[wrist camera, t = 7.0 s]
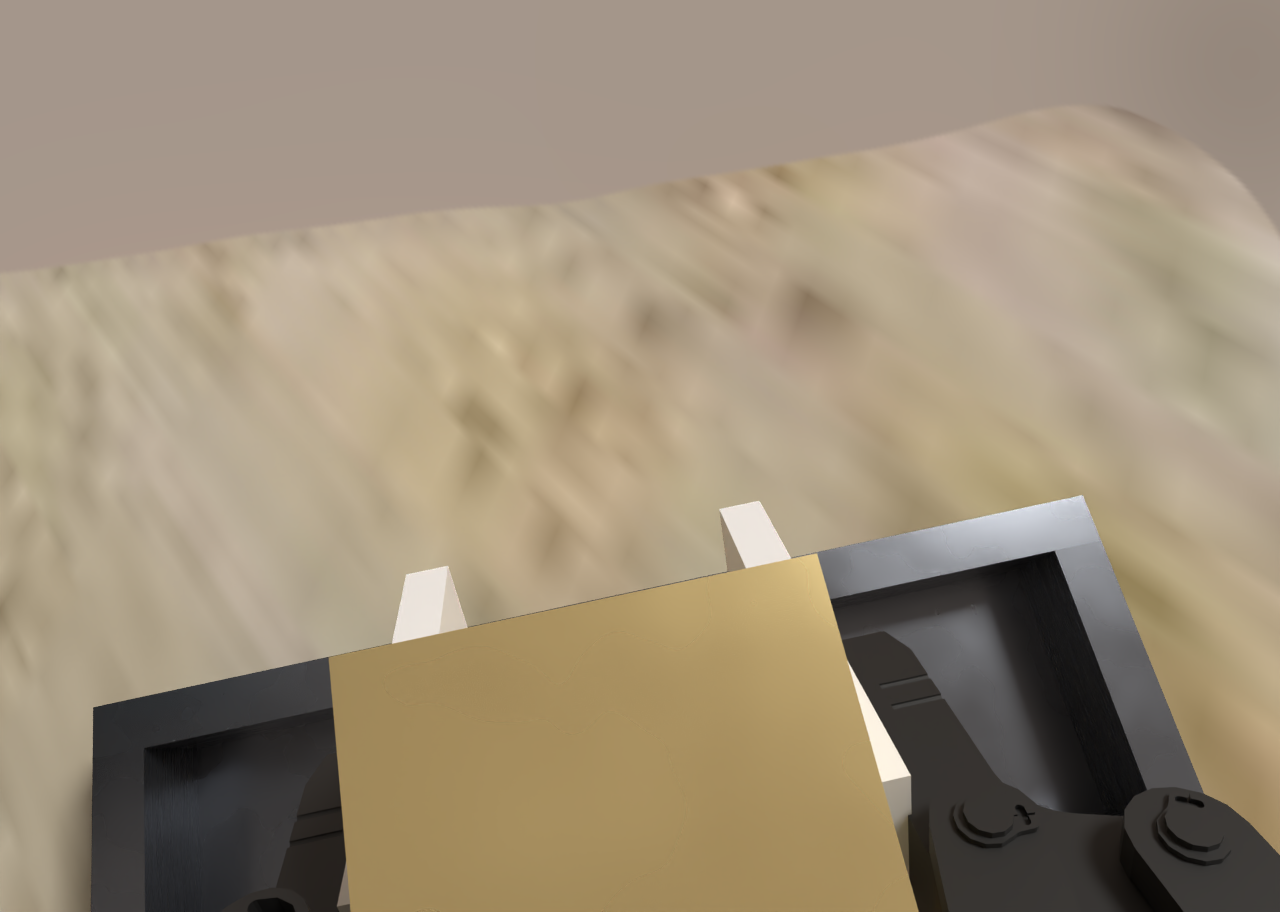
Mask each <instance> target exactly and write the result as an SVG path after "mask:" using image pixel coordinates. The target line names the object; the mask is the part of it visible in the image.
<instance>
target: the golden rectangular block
mask: <svg viewBox="0 0 1280 912" xmlns="http://www.w3.org/2000/svg"><path fill="white" fill-rule="evenodd" d="M329 668H330V679H331V691H332V702H333V714H334V725H335V737H336V748H337V760H338V771H339V783H340V794H341V806H342V817H343V829H344V840H345V852H346V863H347V875H348V886H349V898H350V909H351V912H919V911H918V907H917V904H916V900H915V897H914V893H913V890H912V886H911V883H910V879H909V876H908V872H907V869H906V865H905V862H904V858H903V855H902V851H901V847H900V844H899V840H898V837H897V833H896V830H895V826H894V823H893V819H892V816H891V812H890V809H889V805H888V802H887V798H886V795H885V791H884V788H883V784H882V781H881V777H880V774H879V770H878V766H877V763H876V759H875V756H874V752H873V749H872V745H871V742H870V738H869V735H868V731H867V728H866V724H865V721H864V717H863V714H862V710H861V707H860V703H859V700H858V696H857V693H856V689H855V686H854V682H853V678H852V675H851V671H850V668H849V664H848V661H847V657H846V654H845V650H844V647H843V643H842V640H841V636H840V633H839V629H838V626H837V622H836V619H835V615H834V612H833V608H832V605H831V601H830V597H829V594H828V590H827V587H826V583H825V580H824V576H823V573H822V569H821V566H820V562H819V559H818V555H817V553H816V554H811V555H806V556H802V557H797V558H792V559H788V560H783V561H778V562H774V563H769V564H764V565H760V566H755V567H750V568H745V569H741V570H736V571H731V572H727V573H722V574H717V575H713V576H708V577H703V578H698V579H694V580H689V581H684V582H680V583H675V584H670V585H666V586H661V587H656V588H651V589H647V590H642V591H637V592H633V593H628V594H623V595H619V596H614V597H609V598H605V599H600V600H595V601H590V602H586V603H581V604H576V605H572V606H567V607H562V608H558V609H553V610H548V611H543V612H539V613H534V614H529V615H525V616H520V617H515V618H511V619H506V620H501V621H496V622H492V623H487V624H482V625H478V626H473V627H468V628H464V629H459V630H454V631H449V632H445V633H440V634H435V635H431V636H426V637H421V638H417V639H412V640H407V641H403V642H398V643H393V644H388V645H384V646H379V647H374V648H370V649H365V650H360V651H356V652H351V653H346V654H341V655H337V656H332V657H329Z"/></svg>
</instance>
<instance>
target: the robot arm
mask: <svg viewBox="0 0 1280 912" xmlns="http://www.w3.org/2000/svg"><path fill="white" fill-rule="evenodd" d="M719 510H720V518H721V525H722V533H723V540H724V548H725V555H726V563H727V570H728V572H731V571H736V570H741V569H745V568H750V567H755V566H760V565H764V564H769V563H774V562H778V561H783V560H788V559H791V557H790V555H789V554H788V552H787V550H786V548H785V546H784V545H783V543H782V541H781V539H780V537H779V535H778V534H777V532H776V530H775V528H774V526H773V525H772V523H771V521H770V519H769V517H768V516H767V514H766V512H765V510H764V508H763V506H762V505H761V503H760V501H756V502H751V503H746V504H742V505H737V506H732V507H727V508H722V509H719ZM464 628H468V627H467V624H466V621H465V618H464V615H463V612H462V608H461V605H460V602H459V599H458V596H457V593H456V589H455V586H454V583H453V580H452V577H451V573H450V570H449V567H448V566H444V567H440V568H435V569H430V570H425V571H420V572H416V573H411V574H406V579H405V583H404V588H403V593H402V598H401V603H400V607H399V612H398V617H397V622H396V626H395V631H394V636H393V641H392V644H393V643H398V642H403V641H407V640H412V639H417V638H421V637H426V636H431V635H435V634H440V633H445V632H449V631H454V630H459V629H464ZM842 643H843V647H844V650H845V654H846V657H847V661H848V664H849V668H850V671H851V675H852V678H853V682H854V686H855V689H856V693H857V696H858V700H859V703H860V707H861V710H862V714H863V717H864V721H865V724H866V728H867V731H868V735H869V738H870V742H871V745H872V749H873V752H874V756H875V759H876V763H877V766H878V770H879V774H880V777H881V781H882V784H883V788H884V791H885V795H886V798H887V802H888V805H889V809H890V812H891V816H892V819H893V823H894V826H895V830H896V833H897V837H898V840H899V844H900V847H901V851H902V855H903V858H904V862H905V865H906V869H907V872H908V876H909V879H910V883H911V886H912V890H913V893H914V897H915V900H916V904H917V907H918V911H919V912H1280V855H1279V854H1278V853H1277V852H1276V851H1275V850H1274V849H1273V848H1272V847H1271V846H1270V844H1269V843H1268V842H1267V841H1266V840H1265V839H1264V838H1263V837H1262V836H1261V835H1260V834H1259V833H1258V832H1257V831H1256V830H1255V828H1254V827H1253V826H1252V825H1251V824H1250V823H1249V822H1248V821H1246V820H1245V819H1244V818H1243V817H1241V816H1240V815H1239V814H1238V813H1237V812H1235V811H1234V810H1233V809H1232V808H1230V807H1229V806H1228V805H1226V804H1224V803H1222V802H1220V801H1218V800H1216V799H1214V798H1211V797H1209V796H1207V795H1205V794H1203V793H1200V792H1196V791H1191V790H1187V789H1182V788H1178V787H1165V788H1151V789H1149V790H1147V791H1144V792H1142V793H1140V794H1138V795H1135V796H1134V797H1133V798H1132V800H1131V801H1130V803H1129V804H1128V806H1127V807H1126V808H1125V810H1124V816H1110V815H1094V814H1078V813H1069V812H1062V811H1056V810H1051V809H1048V808H1045V807H1042V806H1039V805H1037V804H1036V803H1035V802H1034V801H1032V800H1031V799H1030V798H1029V797H1028V796H1026V795H1025V794H1024V793H1023V792H1021V791H1020V790H1019V789H1017V788H1014V787H1012V786H1009V785H1007V784H1005V783H1002V781H1001V780H1000V779H999V778H998V777H997V776H996V774H995V773H994V772H993V771H992V769H991V768H990V766H989V765H988V763H987V762H986V760H985V759H984V757H983V756H982V754H981V753H980V751H979V750H978V748H977V747H976V745H975V744H974V742H973V741H972V739H971V738H970V736H969V735H968V733H967V732H966V730H965V729H964V727H963V726H962V724H961V723H960V721H959V720H958V718H957V717H956V715H955V714H954V712H953V711H952V709H951V708H950V706H949V705H948V703H947V702H946V700H945V699H942V697H941V693H940V691H939V690H938V688H937V687H936V685H935V684H934V682H933V681H932V679H931V678H929V677H928V674H927V672H926V671H925V669H924V668H923V666H922V665H921V663H920V662H919V660H918V659H917V657H916V656H915V654H914V653H913V651H912V650H911V649H910V648H909V647H907V646H906V645H904V644H903V643H901V642H900V641H898V640H897V639H896V638H894V637H893V636H891V635H890V634H888V633H887V632H885V631H881V632H876V633H872V634H867V635H863V636H858V637H854V638H849V639H844V640H842ZM289 843H290V847H289V848H287V850H286V854H285V857H284V861H283V864H282V868H281V871H280V875H279V878H278V882H277V885H276V888H268V889H264V890H261V891H257V892H253V893H250V894H248V895H246V896H244V897H242V898H241V899H239V900H237V901H235V902H234V903H232V904H230V905H229V906H227V907H225V908H224V909H223V910H222V911H221V912H351V909H350V898H349V886H348V875H347V863H346V852H345V840H344V829H343V817H342V806H341V794H340V783H339V771H338V760H337V753H333V754H329V755H326V757H325V758H324V760H323V761H322V762H321V764H320V765H319V767H318V768H317V769H316V771H315V772H314V773H313V775H312V776H311V778H310V779H309V780H308V782H307V783H306V785H305V788H304V791H303V795H302V798H301V802H300V805H299V809H298V812H297V822H294V826H293V829H292V833H291V836H290V840H289Z"/></svg>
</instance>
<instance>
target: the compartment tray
mask: <svg viewBox="0 0 1280 912" xmlns="http://www.w3.org/2000/svg"><path fill="white" fill-rule="evenodd" d="M816 553H817V555H818V559H819V562H820V566H821V569H822V573H823V576H824V580H825V583H826V587H827V590H828V594H829V597H830V601H831V605H832V608H833V612H834V615H835V619H836V622H837V626H838V629H839V633H840V636H841V640H844V639H849V638H854V637H858V636H863V635H867V634H872V633H876V632H881V631H885V632H887V633H888V634H890V635H891V636H893V637H894V638H896V639H897V640H898V641H900V642H901V643H903V644H904V645H906V646H907V647H909V648H910V649H911V650H912V651H913V653H914V654H915V656H916V657H917V659H918V660H919V662H920V663H921V665H922V666H923V668H924V669H925V671H926V672H927V674H928V677H929V678H931V679H932V681H933V682H934V684H935V685H936V687H937V688H938V690H939V691H940V693H941V697H942V699H945V700H946V702H947V703H948V705H949V706H950V708H951V709H952V711H953V712H954V714H955V715H956V717H957V718H958V720H959V721H960V723H961V724H962V726H963V727H964V729H965V730H966V732H967V733H968V735H969V736H970V738H971V739H972V741H973V742H974V744H975V745H976V747H977V748H978V750H979V751H980V753H981V754H982V756H983V757H984V759H985V760H986V762H987V763H988V765H989V766H990V768H991V769H992V771H993V772H994V773H995V774H996V776H997V777H998V778H999V779H1000V780H1001V781H1002V783H1005V784H1007V785H1009V786H1012V787H1014V788H1017V789H1019V790H1020V791H1021V792H1023V793H1024V794H1025V795H1026V796H1028V797H1029V798H1030V799H1031V800H1032V801H1034V802H1035V803H1036V804H1037V805H1039V806H1042V807H1045V808H1048V809H1051V810H1056V811H1062V812H1069V813H1078V814H1094V815H1110V816H1124V810H1125V808H1126V807H1127V806H1128V804H1129V803H1130V801H1131V800H1132V798H1133V797H1134V796H1135V795H1138V794H1140V793H1142V792H1144V791H1147V790H1149V789H1151V788H1165V787H1178V788H1182V789H1187V790H1191V791H1196V792H1200V793H1203V790H1202V788H1201V785H1200V783H1199V781H1198V778H1197V776H1196V773H1195V771H1194V768H1193V766H1192V763H1191V761H1190V758H1189V756H1188V753H1187V751H1186V749H1185V746H1184V744H1183V741H1182V739H1181V736H1180V734H1179V731H1178V729H1177V726H1176V724H1175V721H1174V719H1173V717H1172V714H1171V712H1170V709H1169V707H1168V704H1167V702H1166V699H1165V697H1164V694H1163V692H1162V689H1161V687H1160V685H1159V682H1158V680H1157V677H1156V675H1155V672H1154V670H1153V667H1152V665H1151V662H1150V660H1149V657H1148V655H1147V653H1146V650H1145V648H1144V645H1143V643H1142V640H1141V638H1140V635H1139V633H1138V630H1137V628H1136V625H1135V623H1134V621H1133V618H1132V616H1131V613H1130V611H1129V608H1128V606H1127V603H1126V601H1125V598H1124V596H1123V593H1122V591H1121V589H1120V586H1119V584H1118V581H1117V579H1116V576H1115V574H1114V571H1113V569H1112V566H1111V564H1110V561H1109V559H1108V556H1107V554H1106V552H1105V549H1104V547H1103V544H1102V542H1101V539H1100V537H1099V534H1098V532H1097V529H1096V527H1095V524H1094V522H1093V520H1092V517H1091V515H1090V512H1089V510H1088V507H1087V505H1086V502H1085V500H1084V497H1083V495H1082V496H1077V497H1072V498H1068V499H1063V500H1058V501H1054V502H1049V503H1044V504H1040V505H1035V506H1030V507H1026V508H1021V509H1016V510H1012V511H1007V512H1002V513H998V514H993V515H989V516H984V517H979V518H975V519H970V520H965V521H961V522H956V523H951V524H947V525H942V526H937V527H933V528H928V529H923V530H919V531H914V532H909V533H905V534H900V535H895V536H891V537H886V538H881V539H877V540H872V541H867V542H863V543H858V544H853V545H849V546H844V547H839V548H835V549H830V550H825V551H821V552H816ZM816 553H811V554H816ZM811 554H807V555H811ZM802 556H806V555H802ZM802 556H797V557H802ZM797 557H793V558H797ZM791 559H792V558H791ZM727 572H728V571H727ZM727 572H723V573H727ZM718 574H722V573H718ZM713 575H717V574H713ZM713 575H709V576H713ZM704 577H708V576H704ZM699 578H703V577H699ZM695 579H698V578H695ZM690 580H694V579H690ZM685 581H689V580H685ZM681 582H684V581H681ZM676 583H680V582H676ZM671 584H675V583H671ZM667 585H670V584H667ZM662 586H666V585H662ZM657 587H661V586H657ZM653 588H656V587H653ZM648 589H651V588H648ZM643 590H647V589H643ZM639 591H642V590H639ZM634 592H637V591H634ZM629 593H633V592H629ZM625 594H628V593H625ZM620 595H623V594H620ZM615 596H619V595H615ZM611 597H614V596H611ZM606 598H609V597H606ZM601 599H605V598H601ZM597 600H600V599H597ZM592 601H595V600H592ZM587 602H590V601H587ZM583 603H586V602H583ZM578 604H581V603H578ZM573 605H576V604H573ZM569 606H572V605H569ZM564 607H567V606H564ZM560 608H562V607H560ZM555 609H558V608H555ZM550 610H553V609H550ZM546 611H548V610H546ZM541 612H543V611H541ZM536 613H539V612H536ZM532 614H534V613H532ZM527 615H529V614H527ZM522 616H525V615H522ZM518 617H520V616H518ZM513 618H515V617H513ZM508 619H511V618H508ZM504 620H506V619H504ZM499 621H501V620H499ZM494 622H496V621H494ZM490 623H492V622H490ZM485 624H487V623H485ZM480 625H482V624H480ZM476 626H478V625H476ZM471 627H473V626H471ZM387 645H388V644H387ZM382 646H384V645H382ZM378 647H379V646H378ZM373 648H374V647H373ZM368 649H370V648H368ZM364 650H365V649H364ZM359 651H360V650H359ZM354 652H356V651H354ZM350 653H351V652H350ZM345 654H346V653H345ZM340 655H341V654H340ZM336 656H337V655H336ZM331 657H332V656H331ZM333 753H337V748H336V737H335V725H334V714H333V702H332V691H331V679H330V668H329V657H326V658H322V659H317V660H312V661H308V662H303V663H298V664H294V665H289V666H284V667H280V668H275V669H270V670H266V671H261V672H256V673H252V674H247V675H242V676H238V677H233V678H228V679H224V680H219V681H214V682H210V683H205V684H200V685H196V686H191V687H186V688H182V689H177V690H172V691H168V692H163V693H158V694H154V695H149V696H144V697H140V698H135V699H130V700H126V701H121V702H117V703H112V704H107V705H103V706H98V707H93V786H92V875H91V912H221V911H222V910H223V909H224V908H225V907H227V906H229V905H230V904H232V903H234V902H235V901H237V900H239V899H241V898H242V897H244V896H246V895H248V894H250V893H253V892H257V891H261V890H264V889H268V888H276V885H277V882H278V878H279V875H280V871H281V868H282V864H283V861H284V857H285V854H286V850H287V848H289V847H290V843H289V840H290V836H291V833H292V829H293V826H294V822H297V812H298V809H299V805H300V802H301V798H302V795H303V791H304V788H305V785H306V783H307V782H308V780H309V779H310V778H311V776H312V775H313V773H314V772H315V771H316V769H317V768H318V767H319V765H320V764H321V762H322V761H323V760H324V758H325V757H326V755H329V754H333ZM1203 794H1204V793H1203Z"/></svg>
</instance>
